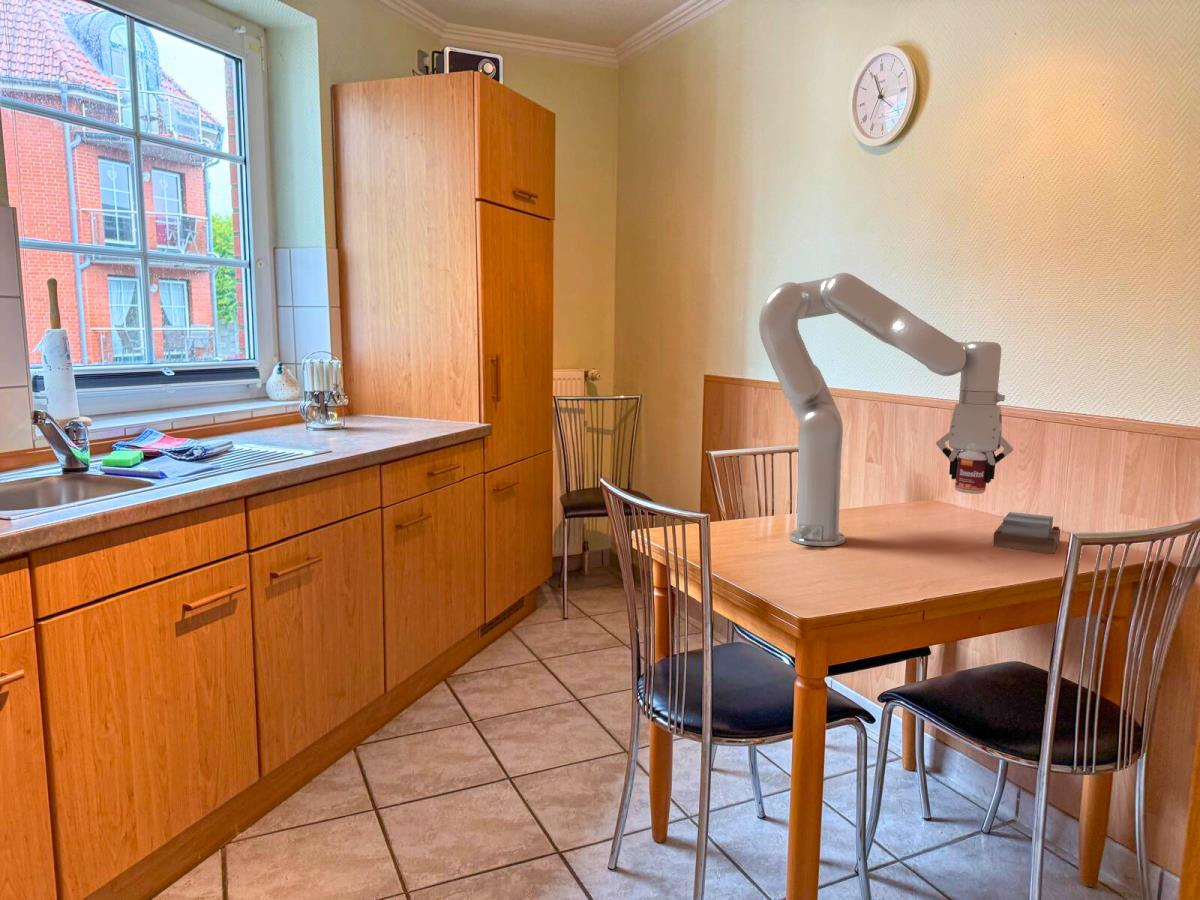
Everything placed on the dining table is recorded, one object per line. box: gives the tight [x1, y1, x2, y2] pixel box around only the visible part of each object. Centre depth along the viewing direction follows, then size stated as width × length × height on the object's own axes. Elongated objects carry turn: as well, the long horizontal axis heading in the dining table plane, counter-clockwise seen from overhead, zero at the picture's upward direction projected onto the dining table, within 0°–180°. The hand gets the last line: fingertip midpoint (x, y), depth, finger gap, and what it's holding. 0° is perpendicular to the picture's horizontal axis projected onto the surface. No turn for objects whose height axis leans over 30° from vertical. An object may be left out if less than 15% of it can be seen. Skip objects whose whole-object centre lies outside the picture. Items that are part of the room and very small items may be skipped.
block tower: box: [992, 511, 1061, 555], centre depth 185 cm, size 12×12×6 cm
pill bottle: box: [954, 443, 989, 495], centre depth 179 cm, size 6×6×11 cm
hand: (971, 479), depth 180 cm, fingers closed on pill bottle, 6 cm apart
